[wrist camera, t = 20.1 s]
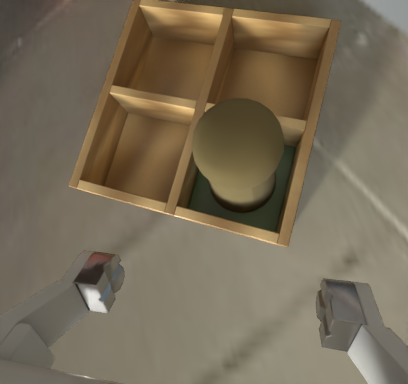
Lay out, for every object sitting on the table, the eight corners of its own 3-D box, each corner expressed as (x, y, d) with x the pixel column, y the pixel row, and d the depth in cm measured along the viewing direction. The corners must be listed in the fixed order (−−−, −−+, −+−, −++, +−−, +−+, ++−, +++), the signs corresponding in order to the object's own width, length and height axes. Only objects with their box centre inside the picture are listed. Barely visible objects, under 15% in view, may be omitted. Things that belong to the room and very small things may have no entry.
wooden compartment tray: (98, 195, 28) (68, 186, 23) (151, 34, 30) (133, -3, 26) (280, 246, 24) (288, 247, 20) (325, 58, 26) (341, 19, 22)
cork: (206, 151, 26) (176, 87, 15) (272, 144, 25) (289, 71, 14) (210, 215, 25) (180, 196, 14) (279, 210, 24) (304, 185, 13)
